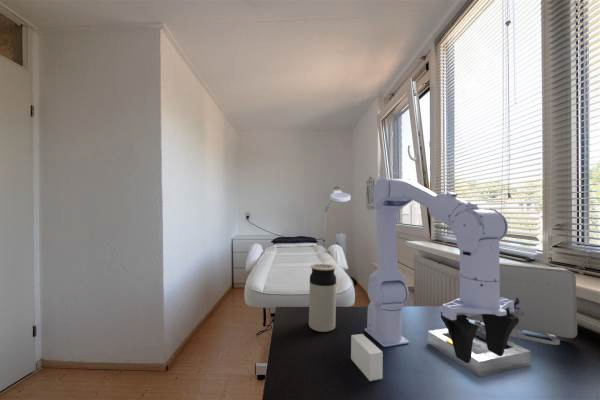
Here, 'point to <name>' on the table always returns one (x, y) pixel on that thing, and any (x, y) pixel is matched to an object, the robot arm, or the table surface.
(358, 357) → the rectangular block
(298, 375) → the table surface
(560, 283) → the network device
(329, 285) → the travel mug
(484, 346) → the rack
